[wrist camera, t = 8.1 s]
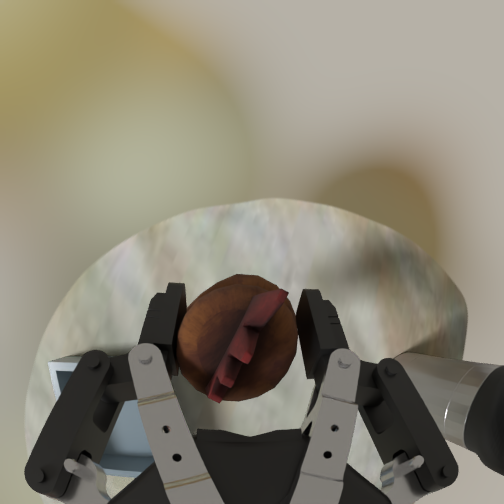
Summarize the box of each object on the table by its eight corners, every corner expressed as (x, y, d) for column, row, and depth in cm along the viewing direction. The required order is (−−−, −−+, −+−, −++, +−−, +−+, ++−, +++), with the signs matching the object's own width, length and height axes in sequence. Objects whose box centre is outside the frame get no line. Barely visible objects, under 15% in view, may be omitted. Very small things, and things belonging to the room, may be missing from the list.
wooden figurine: (244, 267, 21) (271, 173, 6) (295, 326, 20) (421, 355, 6) (173, 325, 20) (54, 355, 5) (225, 385, 19) (213, 521, 5)
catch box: (165, 353, 31) (156, 361, 26) (188, 459, 29) (184, 478, 24) (67, 356, 29) (47, 361, 25) (93, 455, 27) (80, 470, 22)
